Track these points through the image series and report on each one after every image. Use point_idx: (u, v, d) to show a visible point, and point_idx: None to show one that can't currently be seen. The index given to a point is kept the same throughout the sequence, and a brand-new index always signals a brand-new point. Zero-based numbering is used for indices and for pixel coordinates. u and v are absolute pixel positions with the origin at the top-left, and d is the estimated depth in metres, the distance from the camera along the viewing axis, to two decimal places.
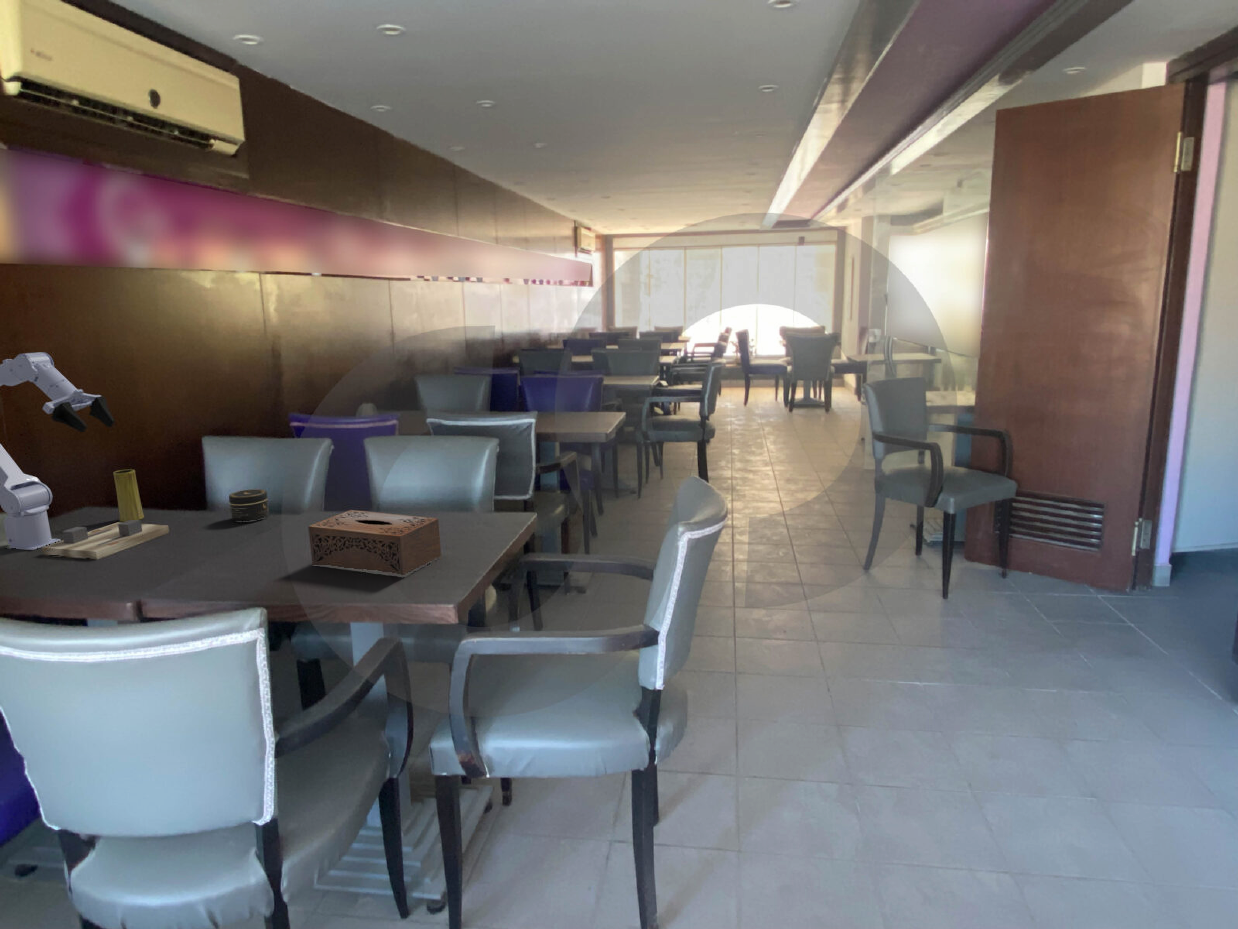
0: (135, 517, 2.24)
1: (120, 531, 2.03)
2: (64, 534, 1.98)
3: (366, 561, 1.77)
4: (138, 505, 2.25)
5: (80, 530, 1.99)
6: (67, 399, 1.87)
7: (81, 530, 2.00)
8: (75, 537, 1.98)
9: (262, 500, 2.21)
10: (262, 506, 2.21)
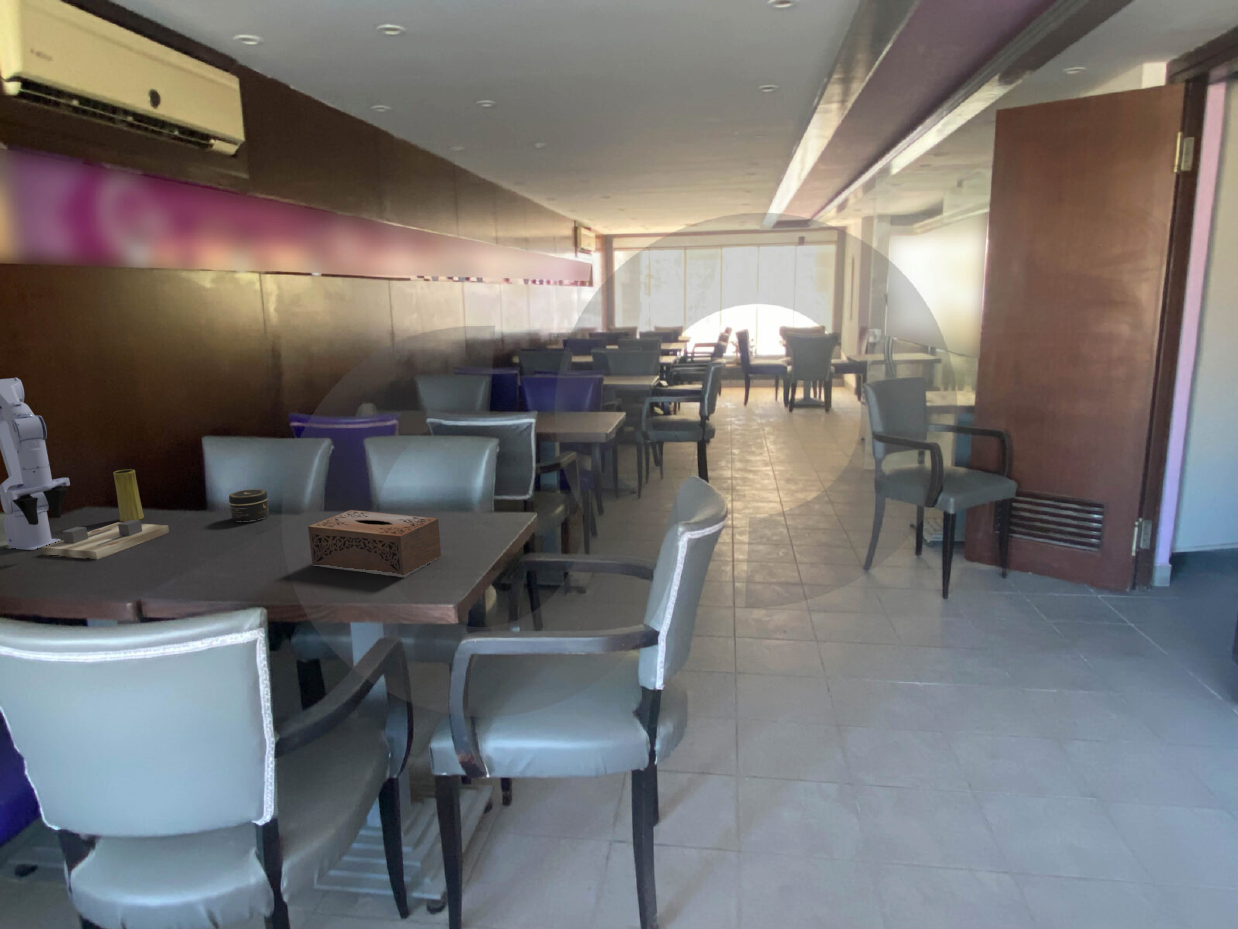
0: (135, 517, 2.24)
1: (120, 531, 2.03)
2: (64, 534, 1.98)
3: (366, 561, 1.77)
4: (138, 505, 2.25)
5: (80, 530, 1.99)
6: (34, 490, 1.87)
7: (81, 530, 2.00)
8: (75, 537, 1.98)
9: (262, 500, 2.21)
10: (262, 506, 2.21)
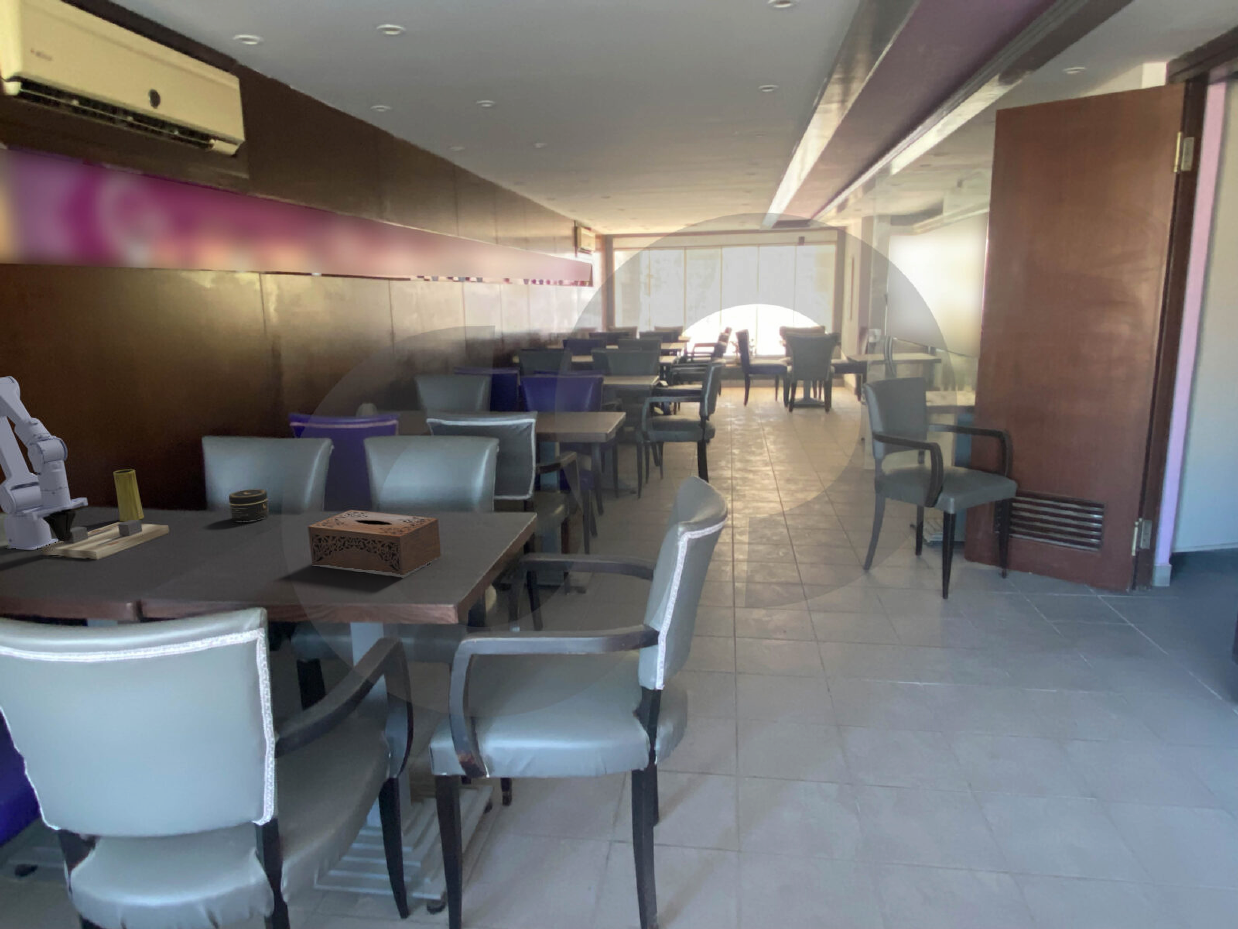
0: (135, 517, 2.24)
1: (120, 531, 2.03)
2: None
3: (366, 561, 1.77)
4: (138, 505, 2.25)
5: (80, 530, 1.99)
6: None
7: (81, 530, 2.00)
8: (75, 537, 1.98)
9: (262, 500, 2.21)
10: (262, 506, 2.21)
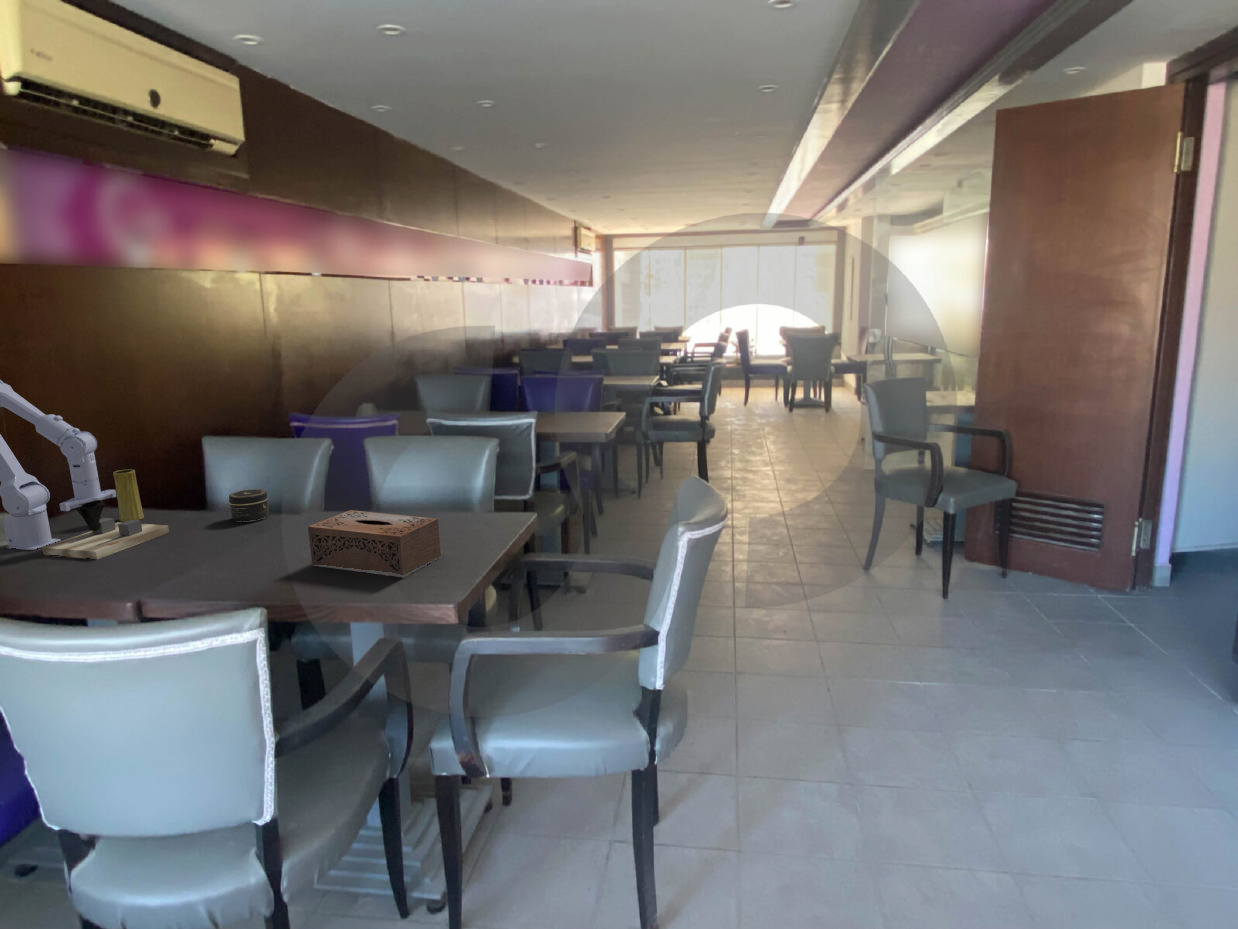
0: (135, 517, 2.24)
1: (120, 531, 2.03)
2: None
3: (366, 562, 1.77)
4: (138, 505, 2.25)
5: (108, 521, 2.07)
6: (85, 502, 2.00)
7: (109, 521, 2.07)
8: (103, 528, 2.06)
9: (262, 500, 2.21)
10: (262, 506, 2.21)
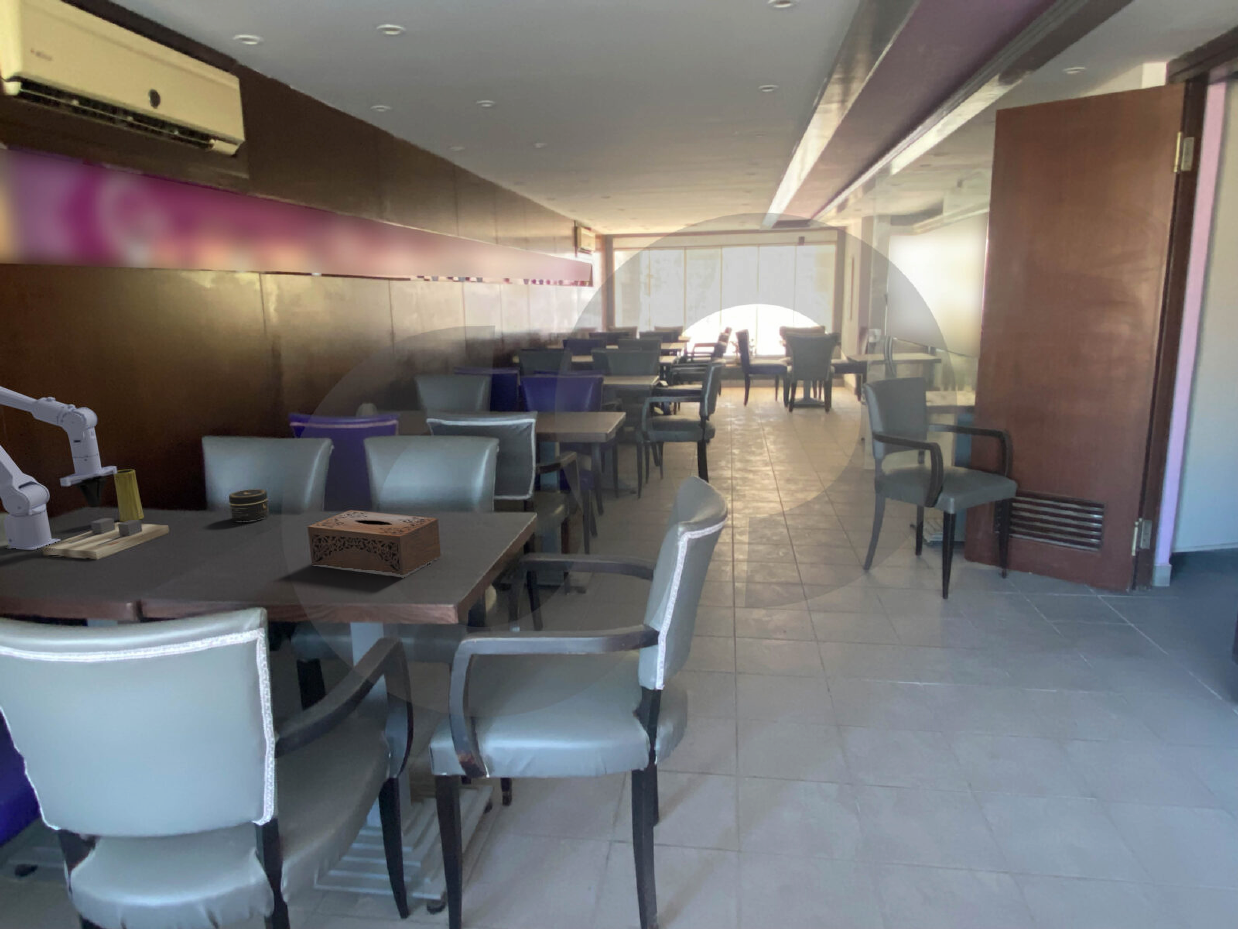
0: (135, 517, 2.24)
1: (120, 531, 2.03)
2: (92, 525, 2.06)
3: (366, 561, 1.77)
4: (138, 505, 2.25)
5: (108, 521, 2.07)
6: (86, 477, 1.99)
7: (108, 521, 2.07)
8: (103, 528, 2.06)
9: (262, 500, 2.21)
10: (262, 506, 2.21)
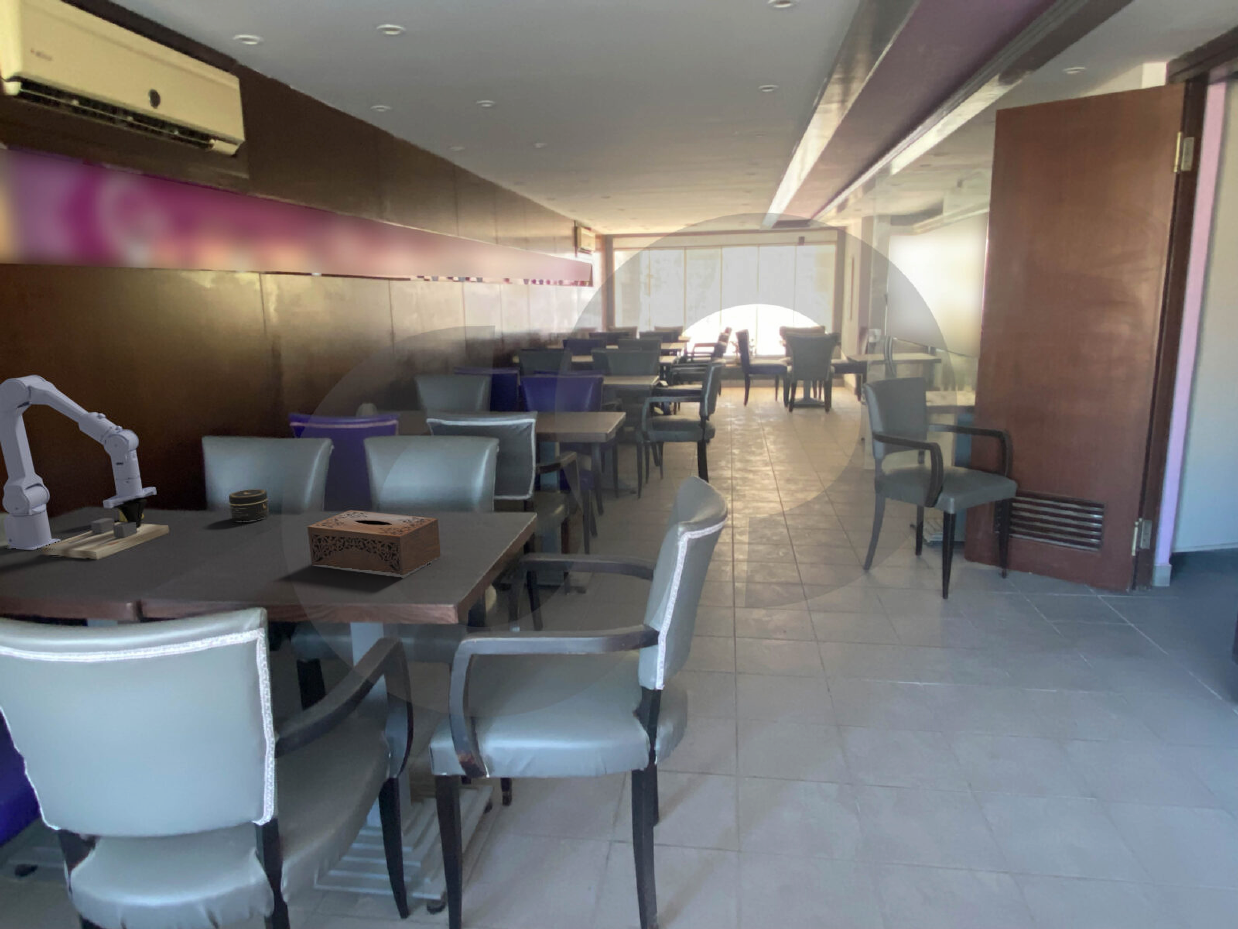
0: None
1: (115, 533, 2.02)
2: (92, 525, 2.06)
3: (365, 562, 1.77)
4: None
5: (108, 521, 2.07)
6: (127, 499, 2.02)
7: (108, 521, 2.07)
8: (103, 528, 2.06)
9: (262, 500, 2.21)
10: (262, 506, 2.21)
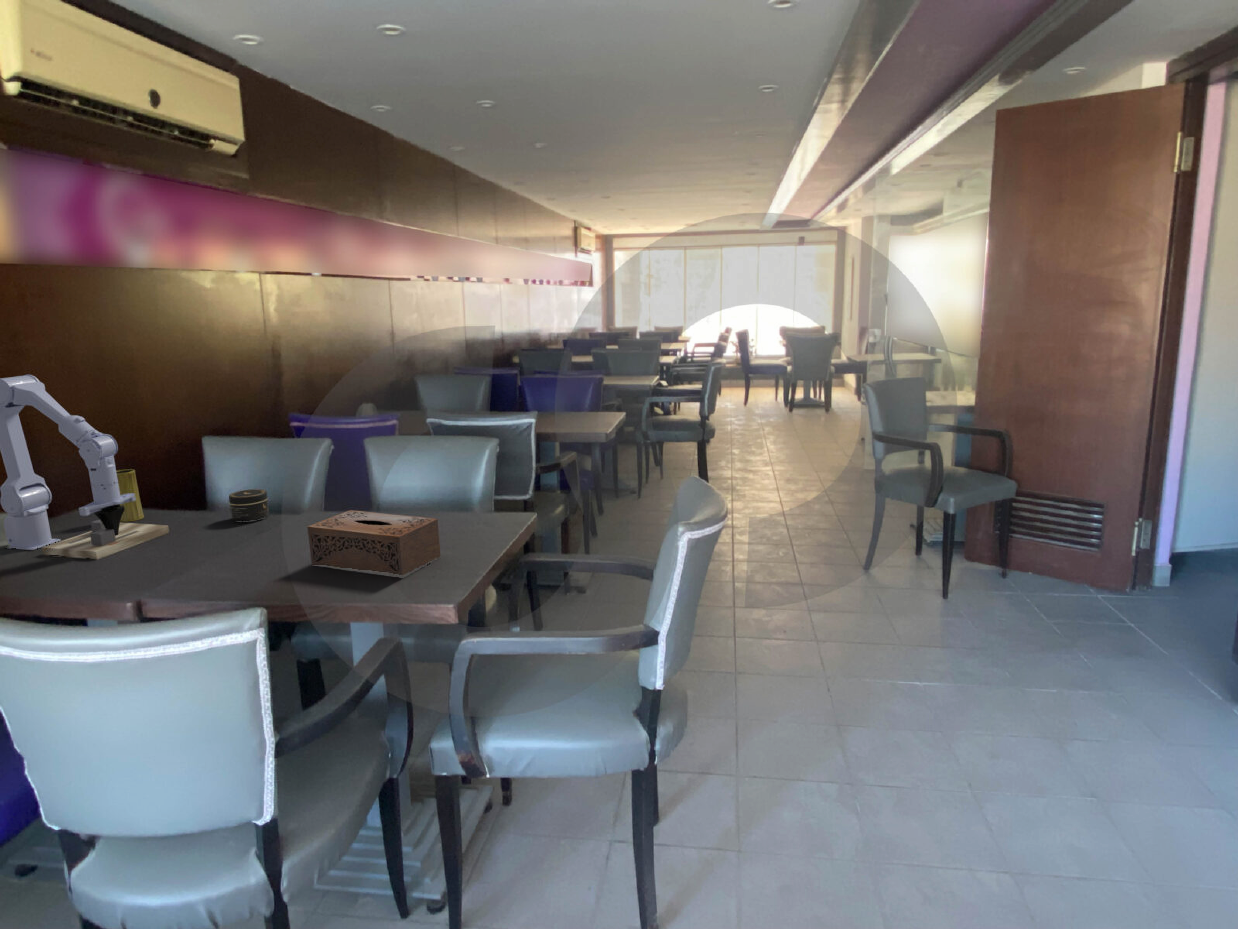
0: (135, 517, 2.24)
1: (92, 541, 1.96)
2: (92, 525, 2.06)
3: (365, 562, 1.77)
4: (138, 505, 2.25)
5: None
6: None
7: None
8: (103, 528, 2.06)
9: (262, 500, 2.21)
10: (262, 506, 2.21)
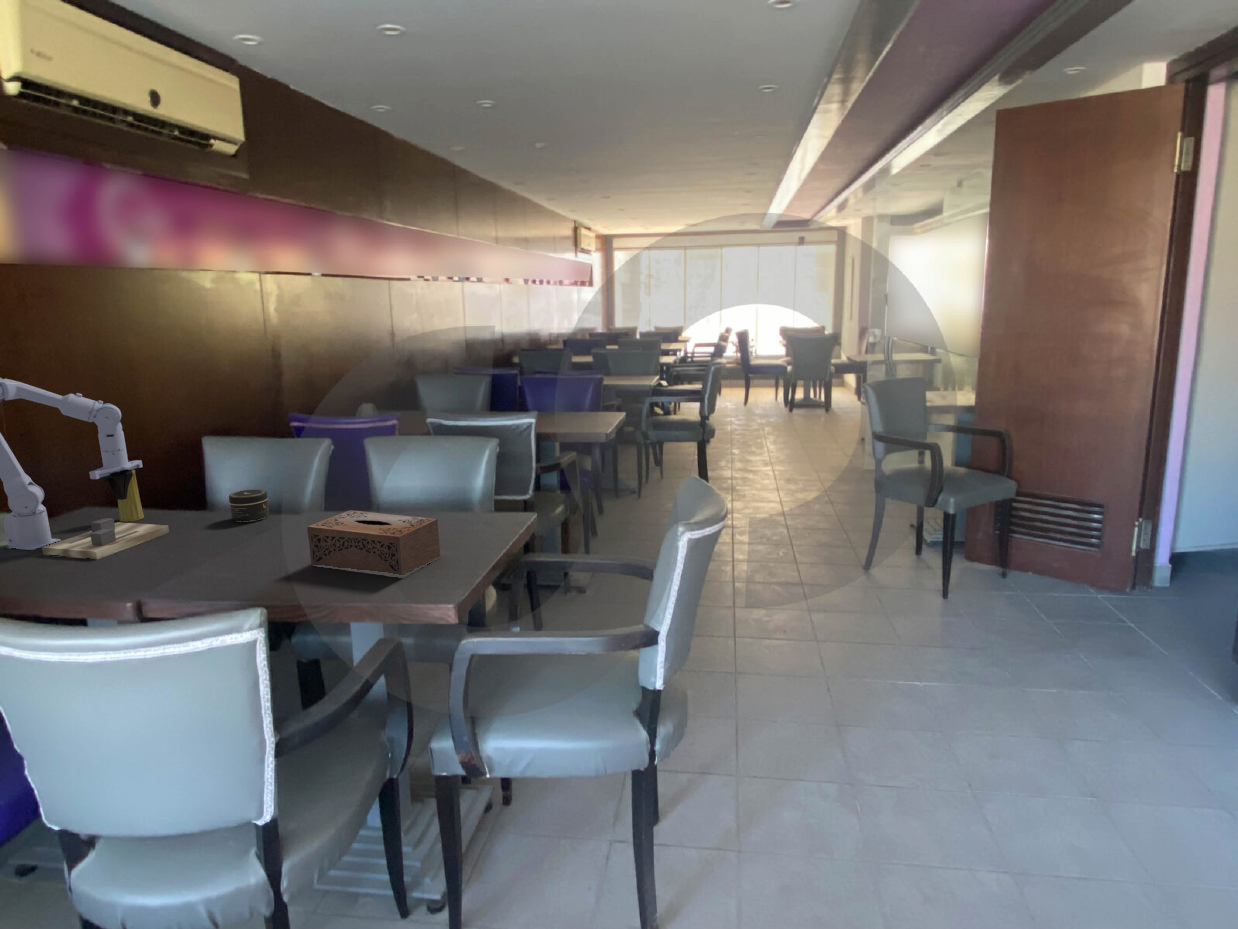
0: (135, 517, 2.24)
1: (92, 541, 1.96)
2: (92, 525, 2.06)
3: (365, 562, 1.76)
4: (138, 505, 2.25)
5: (108, 521, 2.07)
6: (113, 471, 2.07)
7: (108, 521, 2.07)
8: (103, 528, 2.06)
9: (262, 500, 2.21)
10: (262, 506, 2.21)
